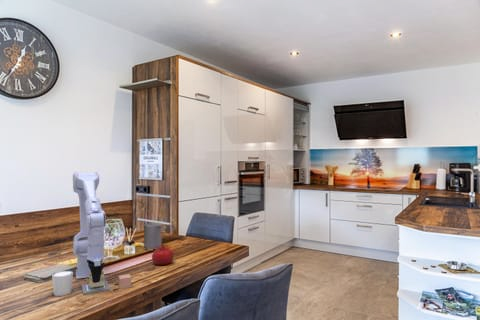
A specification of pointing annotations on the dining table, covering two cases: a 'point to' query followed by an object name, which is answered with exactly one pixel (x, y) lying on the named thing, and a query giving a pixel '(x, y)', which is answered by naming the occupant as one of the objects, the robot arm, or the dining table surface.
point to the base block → (100, 283)
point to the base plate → (94, 288)
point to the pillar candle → (152, 235)
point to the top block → (124, 281)
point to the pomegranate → (162, 256)
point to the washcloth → (48, 273)
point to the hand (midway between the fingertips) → (95, 280)
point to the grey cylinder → (62, 283)
